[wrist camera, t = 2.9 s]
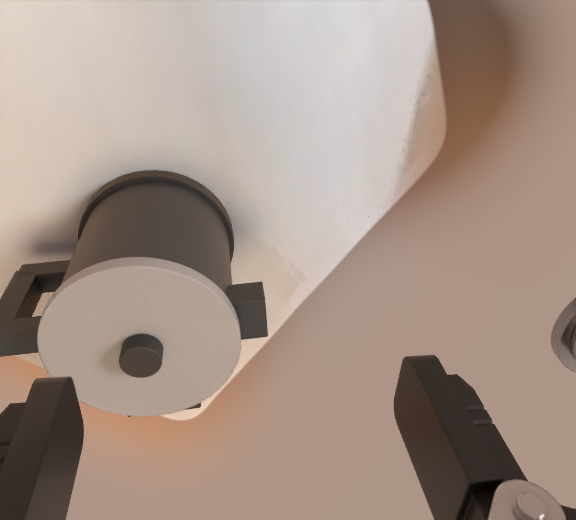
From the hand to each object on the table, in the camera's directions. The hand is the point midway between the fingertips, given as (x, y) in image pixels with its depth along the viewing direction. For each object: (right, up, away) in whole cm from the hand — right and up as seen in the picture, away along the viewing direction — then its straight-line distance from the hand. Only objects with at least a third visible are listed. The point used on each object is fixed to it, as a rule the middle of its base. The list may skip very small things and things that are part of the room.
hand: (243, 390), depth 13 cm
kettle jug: (-10, +4, +29) cm, 31 cm away
